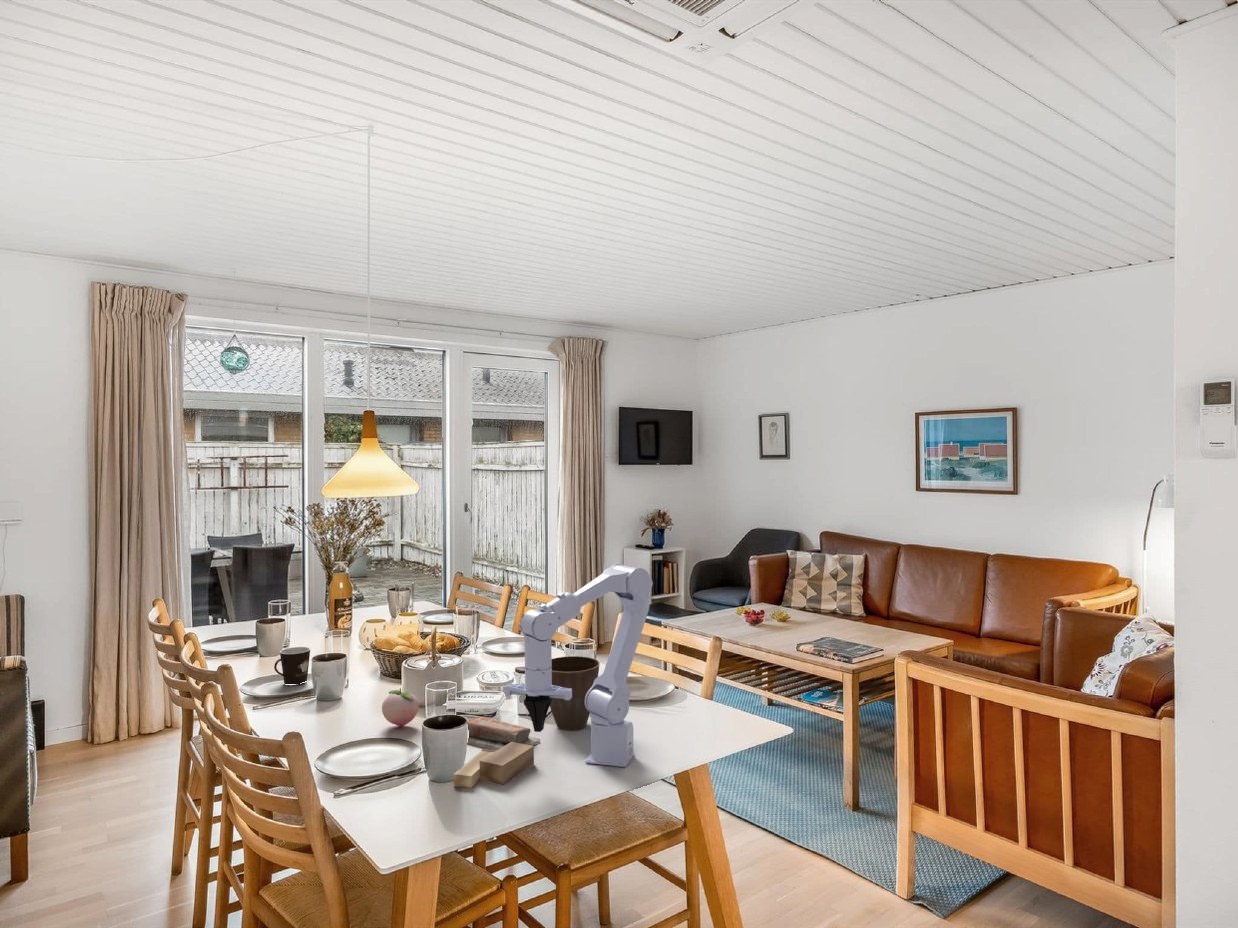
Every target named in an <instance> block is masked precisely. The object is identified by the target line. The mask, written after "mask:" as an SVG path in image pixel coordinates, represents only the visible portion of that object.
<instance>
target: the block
mask: <svg viewBox="0 0 1238 928" xmlns="http://www.w3.org/2000/svg"><path fill="white" fill-rule="evenodd" d="M534 749H535V745H534V746H531V745H526V744H520V743H515V742H510V743H509V744H507V745H505V746H504V747H502V748H500V749H498V750H497V751H495V752H493V753H492V754H490V755H488V756H487V757H485V758H483V759H482V760H480V761H479V764H480V780H479V781H480V782H485V783H490V784H493V785H498V786H501V787H502V786H505V785H507V784H508V783H509V782H510V781H512V780H514V779H515V778H517V777H518V776H519V774H520V775H521V774H523V773H524V772H526V771H528V769H529V768H530V769H531V768H532V767H533V766H534V765H535V750H534ZM531 766H532V767H531ZM522 772H523V773H522ZM513 778H514V779H513Z"/></svg>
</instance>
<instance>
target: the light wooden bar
mask: <svg viewBox="0 0 1238 928" xmlns="http://www.w3.org/2000/svg"><path fill="white" fill-rule="evenodd" d="M495 751H497V750H489V749H485V748H482V749H481V750H480V751H479V752H478V753H477V754H476V755H475V756H473V757H472V758H471V759H470V760H469V761H468V762H466V763H465V764H464V765H463V766H461V767H460V768H461V769H460V768H459V769H458V770H457V771H456V772H454V773H453V787H459V788H469V789H472V788H473V787H474V786H475V785H476V784H477V783H479V781H480V764H479V761H480V760H482V759H483V758H485V757H487V756H488V755H490V754H492V753H493V752H495Z"/></svg>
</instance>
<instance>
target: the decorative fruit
mask: <svg viewBox="0 0 1238 928" xmlns="http://www.w3.org/2000/svg"><path fill="white" fill-rule="evenodd" d="M401 688H402V687H400V688H399V689H393V690H390V691H389V692H388V694H389V695H388V696H387V697H385V699H384V700H383V702H382V705H381V711H382V715H383V717H384V718H385V720H386V722H389V723H390V724H392V725H395V726H397V727H400V728H401V727H405V726H406V725H407V724H409V723H410V722H412V721H413V720H414V719H415V718H416V717H417V715H418V712H419V709H420V703H419V699H418V698H417V697H416V696H415V695H414V694H413V693H411V692H402V690H401Z"/></svg>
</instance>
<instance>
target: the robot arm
mask: <svg viewBox="0 0 1238 928" xmlns="http://www.w3.org/2000/svg"><path fill="white" fill-rule="evenodd" d="M653 584H654V583H653V580H652V577H651V575H650V574H649V572H648V571H647V569H644V568H643V567H633V566H629V565H625V564H621V563H614V564H613V565H612V566H610V567H608V568H605V569H604V570H603V571H602V573H601V574H600V575H599V576H597V577H595V578H593V580H591V581H590V582H589V583H586V584H585V585H584V586H582V587H581V588H580V589H578V590H577V591H575V592H574V593H571V592H569V591H567V592H559V593H557V594H556V598H553V599H552V600H550V601H549V602H547V603H545V604H544V603H543V604H540V605H539V608H538V609H529V610H527V611H526V612H525V613H524V614H523V616H522V618H521V621H520V623H518V628H519V630H520V632H521V633H522V635H523V642H524V683H507V684H506V685H505V696H511V695H513V696H514V695H515V696H525V697H524V699H523V706H525V708H526V710H527V712H528V714H529V717H530V719H531V722H532V727H533V731H534V732H537V733H542V731H543V730H544V728H545V722H546V717H547V715H548V714H547V713H548V711H549V709H550V704H551V702H552V700H553V698H560V699H565V700H570V699H571V698H572V689H570V688H564V687H559V686H555V685H552V659H553V658H552V638H553V637H554V636H555V635H556V632H557V630H558V628H560V627H561V626H564V625H565V624H566V623H568V622H569V621H571V620H573V619H575V618H576V617H578V616H579V615H580V614H581V609H582V607H584V606H586V605H587V604H589V603H591V602H593V601H595V600H597V599H599V598H600V597H601V598H602V596H605V595H606V594H608V593H614V594H615V595H616V597H618V598H619V601H621V604H622V606H623V608H624V609H623V612H622V615H621V618H620V621H619V624H618V627H617V630H616V633H615V637H614V639H613V642H612V645H611V649H610V652H609V655H608V658H607V660H606V664H605V667H604V669H603V673H602V674H600V675H598V677H597V678H596V679H595V680H594V683H593V685H592V687H591V688H590V689H589V691H588V692H587V694H586V696H585V707H586V709H587V710H588V711H589V712H590V715H589V718H590V754H589V755H588V757H587V758H586V759H585V761H584V762H585V763H587V764H593V765H594V764H595V765H603V766H613V767H620V768H626V767H627V766H628V765H629V763H630V761H631V760H632V758H633V757H634V755H635V752H634V724H633V722H632V721H629V720H626V717H627V716H628V713H629V709H630V703H629V702H630V696H631V694H632V693H631V691H630V690H631V689H630V688H629V685H628V683H627V678H628V675H629V672H630V670H631V668H632V667H631V666H632V665H633V664H632V663H633V661H634V660H633V659H634V657H635V654H636V651H637V647H638V644H639V641H640V639H641V635H642V631H643V629H644V626H645V623H646V619H647V617H648V614H649V611H650V606H651V605H650V601H651V600H650V599H651V598H650V594H651V590H652V587H653Z"/></svg>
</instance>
